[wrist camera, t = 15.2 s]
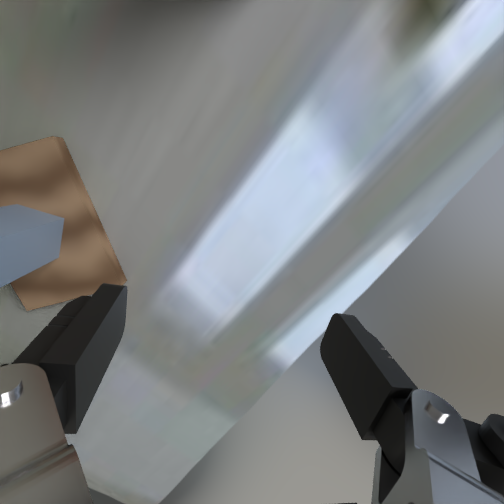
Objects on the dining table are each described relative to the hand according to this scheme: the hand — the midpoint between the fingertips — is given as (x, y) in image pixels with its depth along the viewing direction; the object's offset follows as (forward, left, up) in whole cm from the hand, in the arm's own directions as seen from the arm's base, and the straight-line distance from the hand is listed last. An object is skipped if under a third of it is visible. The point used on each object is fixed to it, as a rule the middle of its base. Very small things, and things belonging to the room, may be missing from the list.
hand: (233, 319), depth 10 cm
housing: (-4, -25, -26) cm, 36 cm away
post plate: (-4, -25, -28) cm, 38 cm away
